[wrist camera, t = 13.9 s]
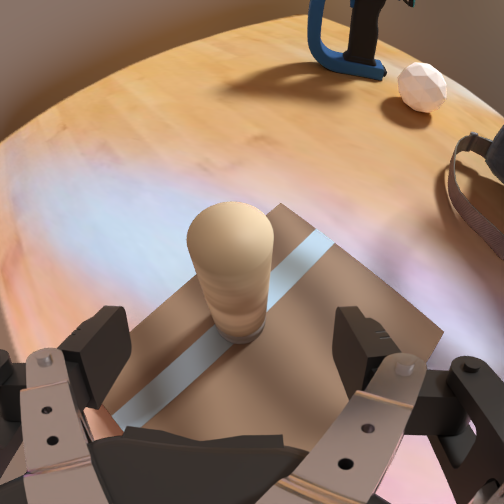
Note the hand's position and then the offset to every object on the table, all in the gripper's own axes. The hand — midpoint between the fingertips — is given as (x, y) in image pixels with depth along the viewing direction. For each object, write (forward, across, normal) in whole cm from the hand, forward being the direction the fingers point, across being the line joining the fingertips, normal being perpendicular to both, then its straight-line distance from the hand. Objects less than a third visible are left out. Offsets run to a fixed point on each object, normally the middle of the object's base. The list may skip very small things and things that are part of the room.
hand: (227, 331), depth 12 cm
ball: (+34, -26, -17) cm, 46 cm away
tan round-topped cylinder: (+10, 0, +5) cm, 11 cm away
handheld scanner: (+41, -17, -24) cm, 51 cm away
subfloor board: (+9, -2, +8) cm, 12 cm away
